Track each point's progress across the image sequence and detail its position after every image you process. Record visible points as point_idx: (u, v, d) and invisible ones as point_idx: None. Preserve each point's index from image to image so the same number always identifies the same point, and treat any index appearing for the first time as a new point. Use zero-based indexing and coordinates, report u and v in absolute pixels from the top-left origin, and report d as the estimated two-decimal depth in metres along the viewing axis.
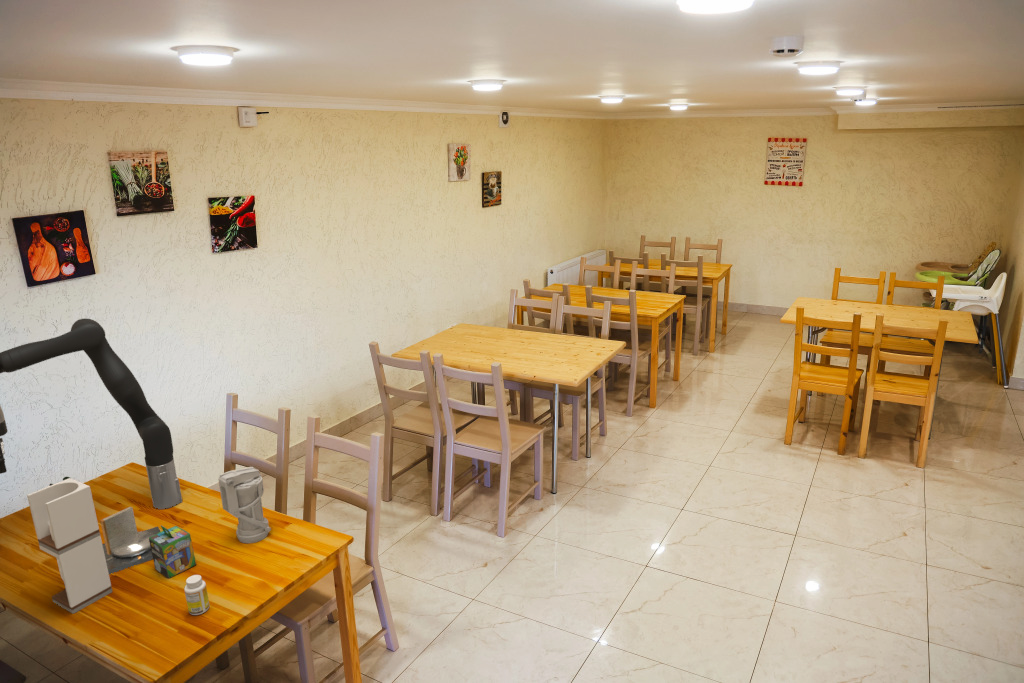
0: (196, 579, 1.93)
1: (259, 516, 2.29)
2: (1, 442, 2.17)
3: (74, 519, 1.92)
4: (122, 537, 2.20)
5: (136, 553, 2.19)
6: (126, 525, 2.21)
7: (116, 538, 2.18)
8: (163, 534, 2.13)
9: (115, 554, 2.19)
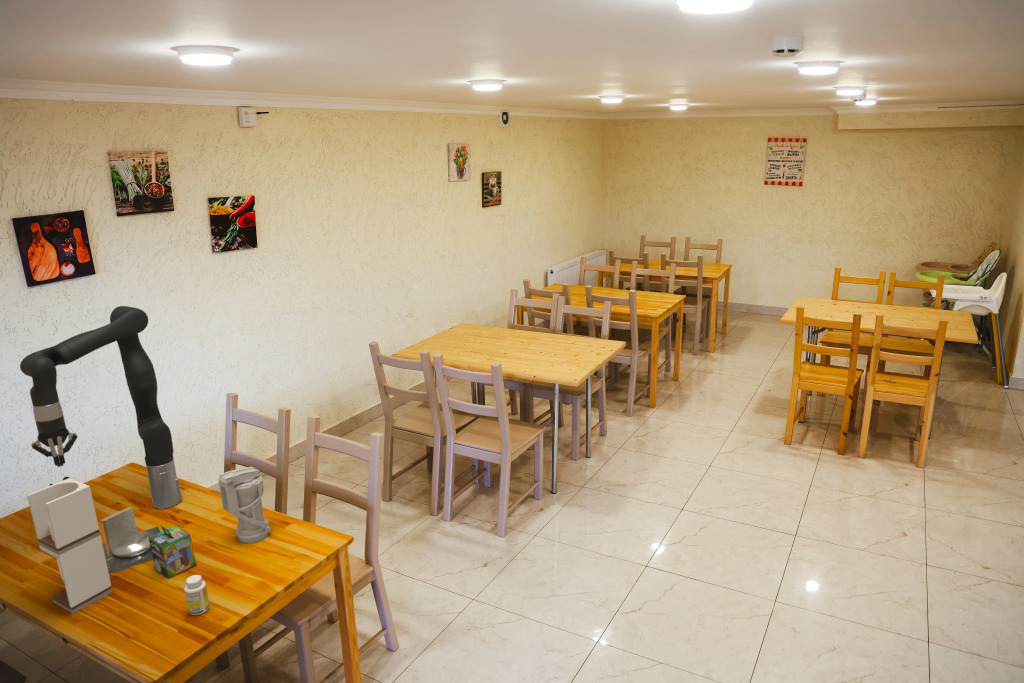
0: (196, 579, 1.93)
1: (259, 516, 2.29)
2: None
3: (74, 519, 1.92)
4: (122, 537, 2.20)
5: (136, 553, 2.19)
6: (126, 525, 2.21)
7: (116, 538, 2.18)
8: (163, 534, 2.13)
9: (115, 554, 2.19)
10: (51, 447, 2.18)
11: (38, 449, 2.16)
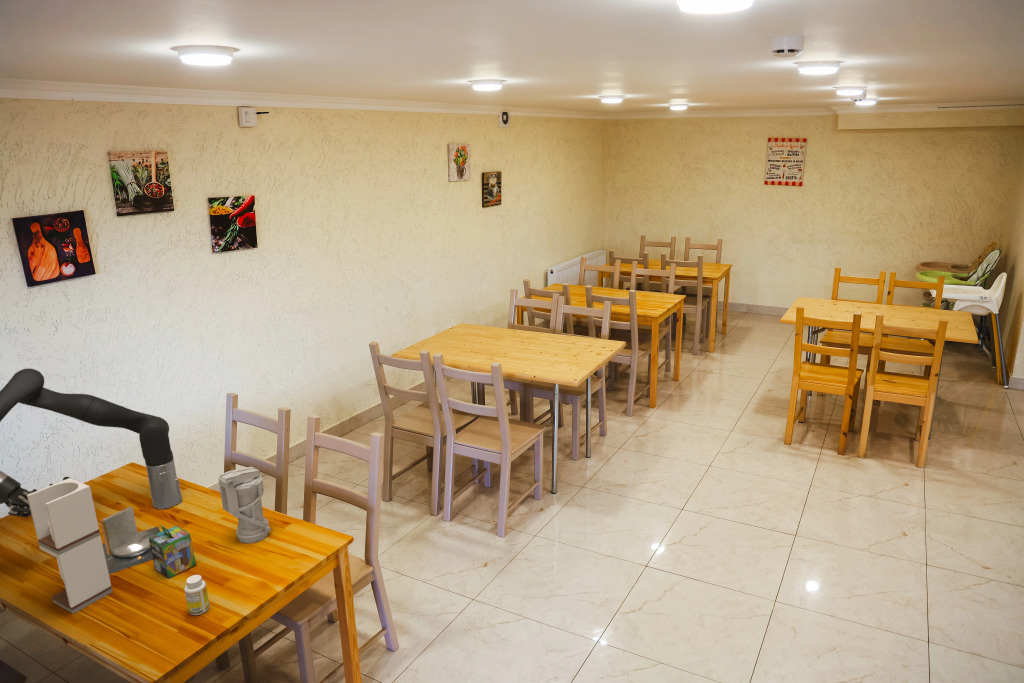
0: (196, 579, 1.93)
1: (259, 516, 2.29)
2: None
3: (74, 519, 1.92)
4: (122, 537, 2.20)
5: (136, 553, 2.19)
6: (126, 525, 2.21)
7: (116, 538, 2.18)
8: (163, 534, 2.13)
9: (115, 554, 2.19)
10: (28, 502, 2.10)
11: (20, 509, 2.07)
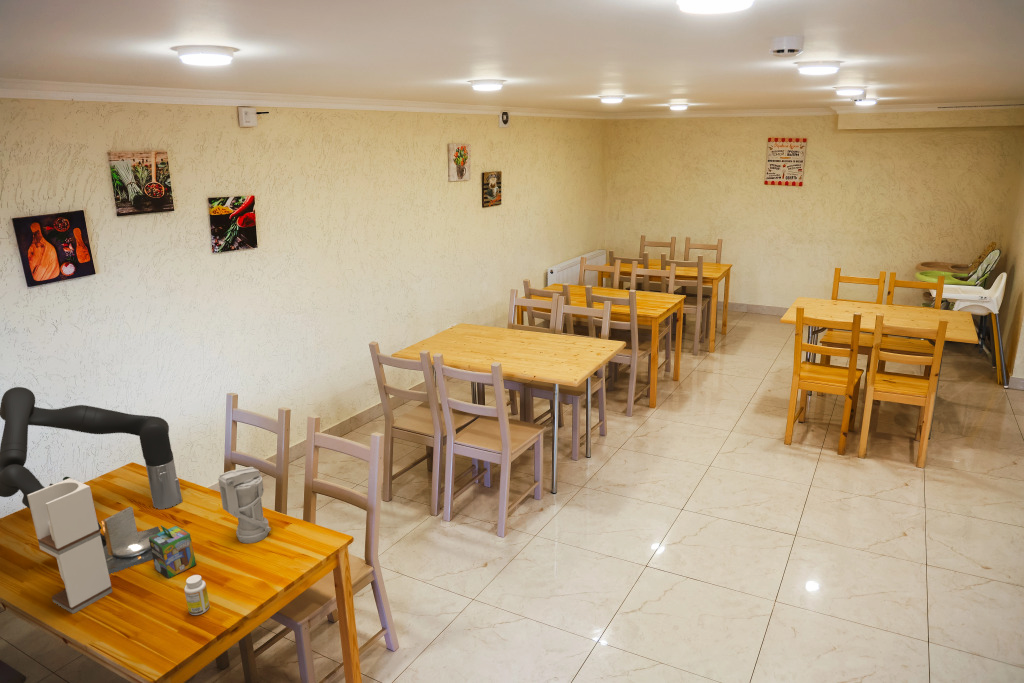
0: (196, 579, 1.93)
1: (259, 516, 2.29)
2: None
3: (74, 519, 1.92)
4: (123, 537, 2.20)
5: (138, 552, 2.20)
6: (126, 525, 2.21)
7: (117, 538, 2.18)
8: (163, 534, 2.13)
9: (116, 554, 2.19)
10: None
11: None
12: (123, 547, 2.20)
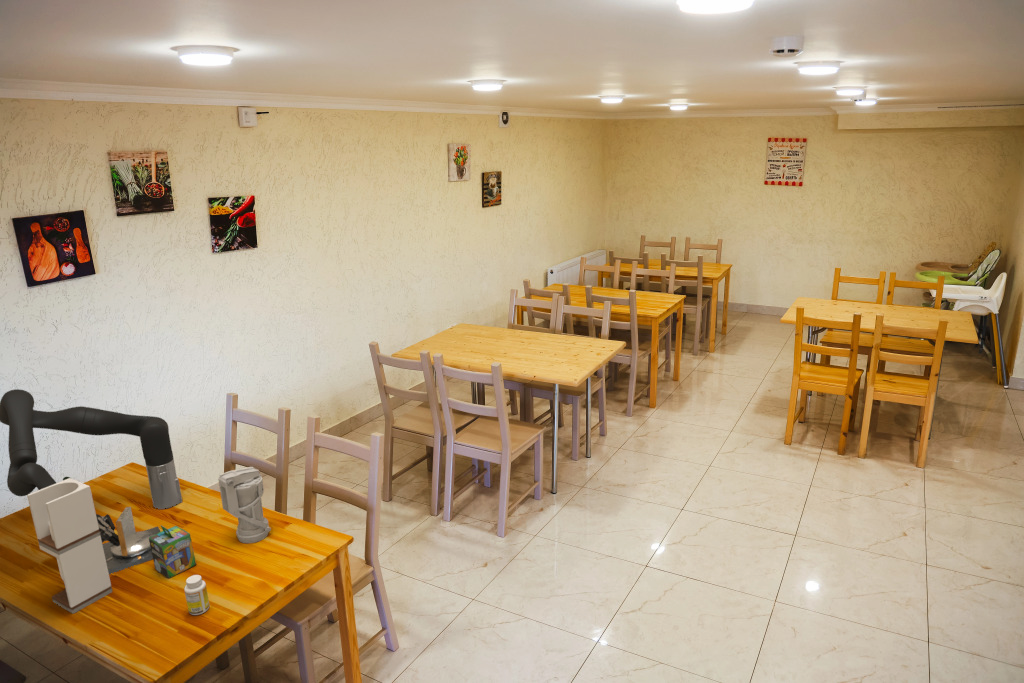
0: (196, 579, 1.93)
1: (259, 516, 2.29)
2: None
3: (74, 519, 1.92)
4: (130, 537, 2.20)
5: None
6: (130, 524, 2.21)
7: (127, 538, 2.18)
8: (163, 534, 2.13)
9: (129, 554, 2.19)
10: (102, 528, 2.14)
11: None
12: (131, 547, 2.21)
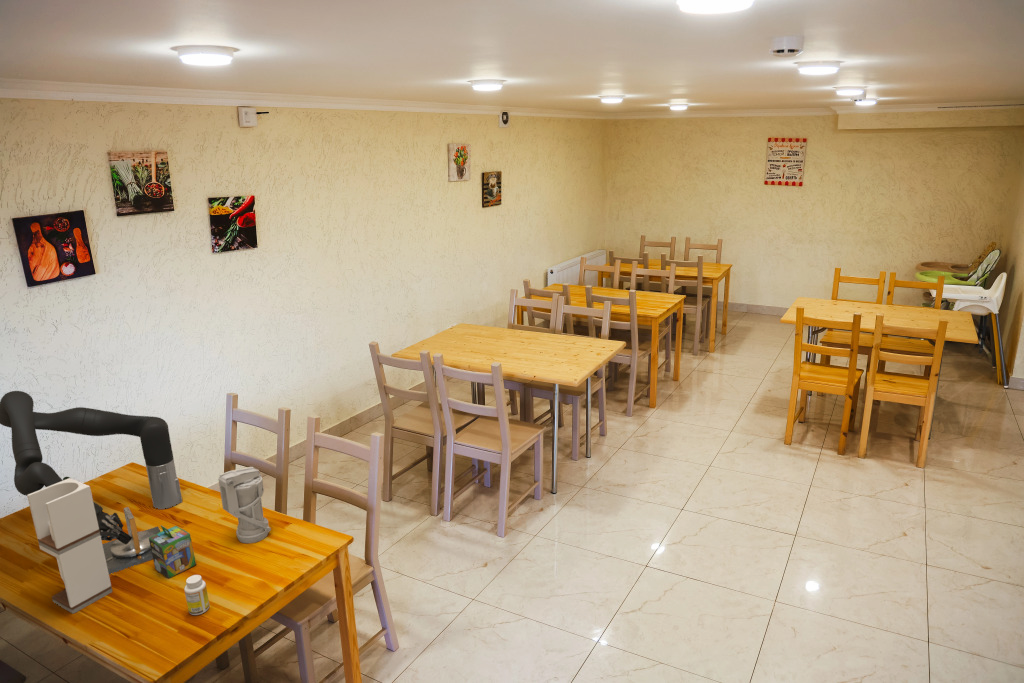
0: (196, 579, 1.93)
1: (259, 516, 2.29)
2: None
3: (74, 519, 1.92)
4: None
5: None
6: None
7: None
8: (163, 534, 2.13)
9: (140, 551, 2.20)
10: (110, 526, 2.15)
11: (104, 533, 2.12)
12: None
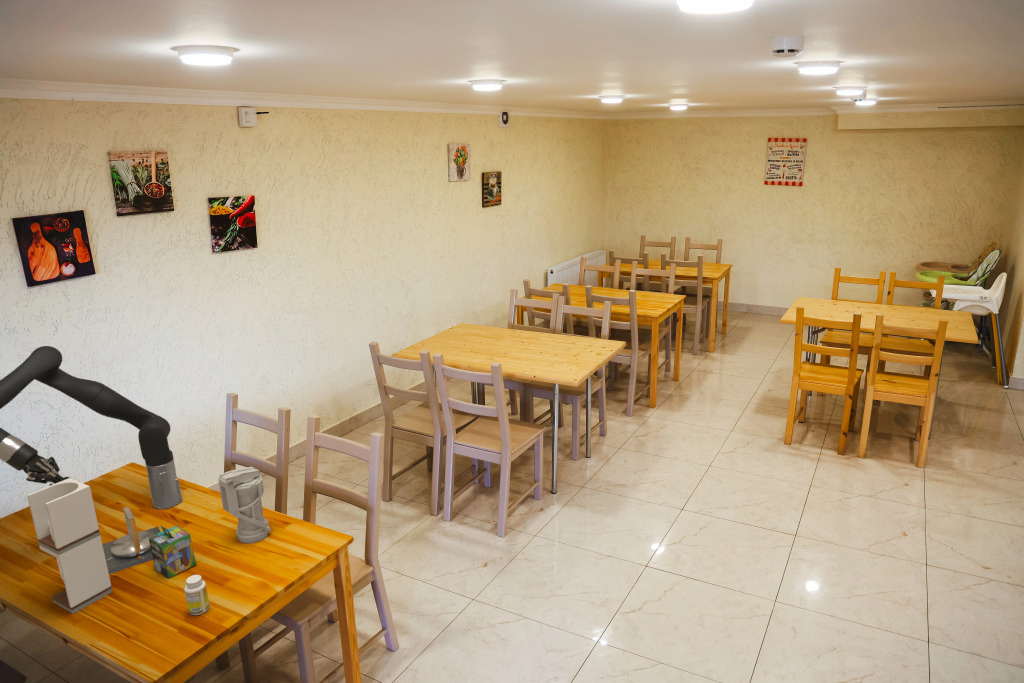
0: (196, 579, 1.93)
1: (259, 516, 2.29)
2: None
3: (74, 519, 1.92)
4: None
5: None
6: None
7: None
8: (163, 534, 2.13)
9: (140, 551, 2.20)
10: (45, 469, 2.12)
11: (37, 475, 2.09)
12: None
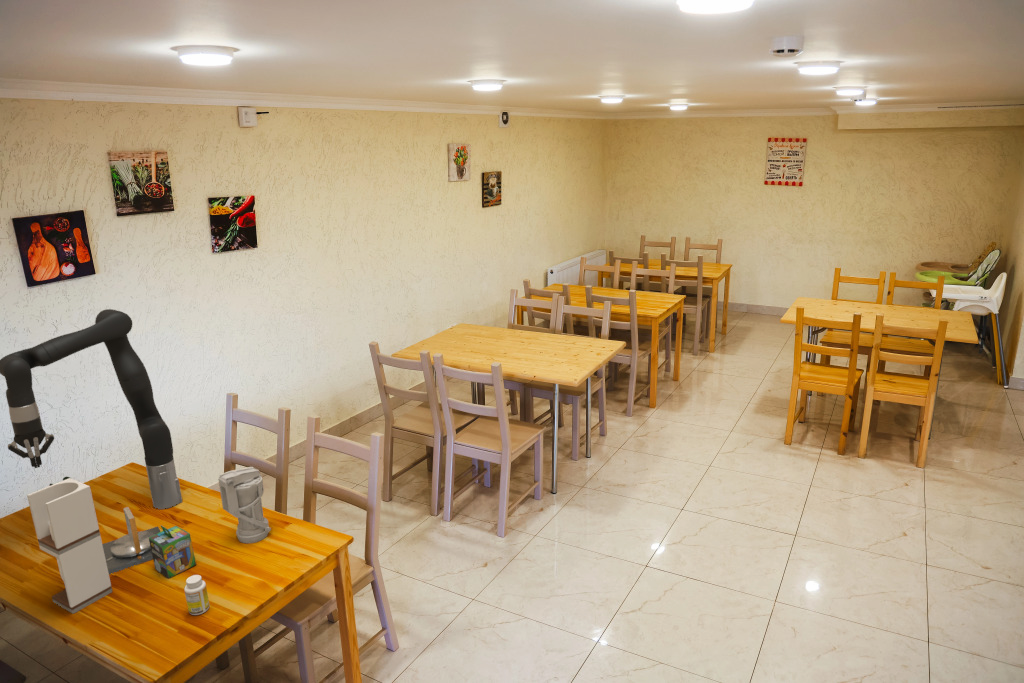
0: (196, 579, 1.93)
1: (259, 516, 2.29)
2: None
3: (74, 519, 1.92)
4: None
5: None
6: None
7: None
8: (163, 534, 2.13)
9: (140, 551, 2.20)
10: (27, 448, 2.17)
11: (14, 450, 2.16)
12: None
